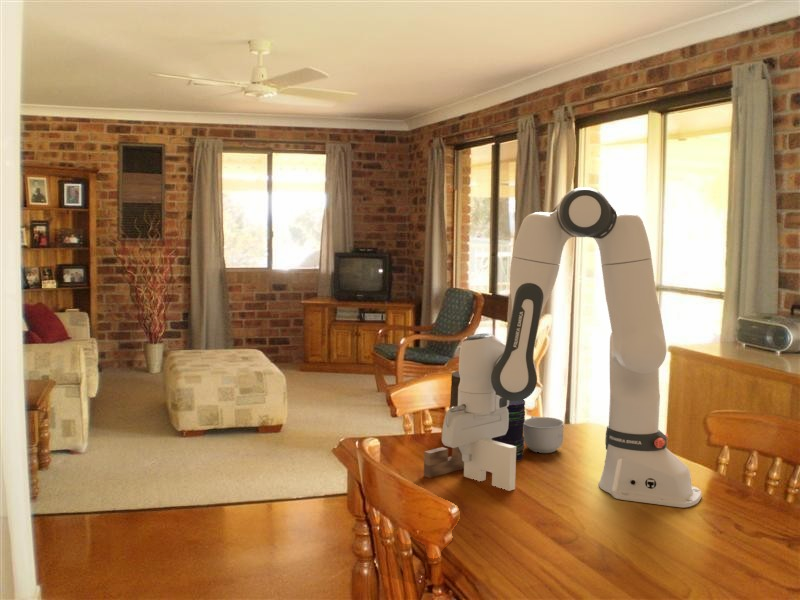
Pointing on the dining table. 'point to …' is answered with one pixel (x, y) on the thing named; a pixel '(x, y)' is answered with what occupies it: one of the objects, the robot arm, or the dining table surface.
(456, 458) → the grey notched block
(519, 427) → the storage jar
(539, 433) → the teacup
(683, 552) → the dining table surface
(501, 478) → the white arch block
